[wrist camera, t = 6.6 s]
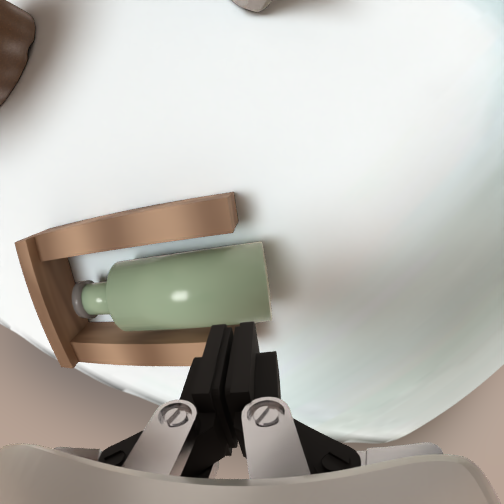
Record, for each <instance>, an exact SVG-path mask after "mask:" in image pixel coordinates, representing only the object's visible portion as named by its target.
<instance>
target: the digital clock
mask: <svg viewBox="0 0 504 504" xmlns="http://www.w3.org/2000/svg"><path fill="white" fill-rule="evenodd" d="M232 1H233V2H234V3H236V4H237V5H238V6H240V7H243V8H245V9H248V10H251V11H254V12H259V11H262V10H264V9H265V8H266V7H267V6H268V5H269V4H270V3H271V1H272V0H232Z"/></svg>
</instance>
